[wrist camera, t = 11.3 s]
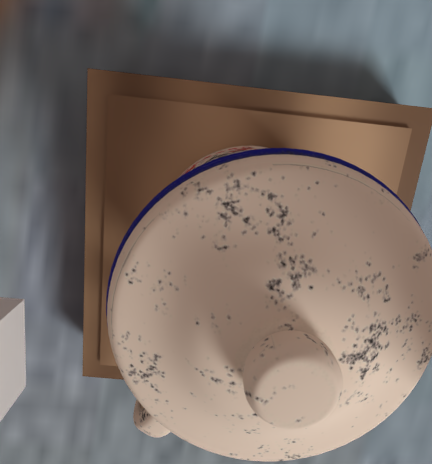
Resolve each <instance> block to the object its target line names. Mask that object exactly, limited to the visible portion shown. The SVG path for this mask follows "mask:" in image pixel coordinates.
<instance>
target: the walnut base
mask: <svg viewBox="0 0 432 464" xmlns="http://www.w3.org/2000/svg"><path fill="white" fill-rule="evenodd" d="M431 126H432V108H425V107H417V106H408V105H400V104H391V103H382V102H374V101H365V100H356V99H348V98H339V97H331V96H322V95H313V94H305V93H296V92H287V91H279V90H270V89H262V88H253V87H244V86H236V85H227V84H218V83H210V82H201V81H193V80H184V79H175V78H167V77H158V76H149V75H141V74H132V73H124V72H115V71H106V70H98V69H89V68H88V78H87V139H86V201H85V263H84V324H83V376H88V377H100V378H112V379H123V380H124V378H123V376H122V374H121V372H120V370H119V368H118V365H117V363H116V361H115V357H114V354H113V351H112V348H111V343H110V339H109V333H108V326H107V316H106V295H107V287H108V280H109V276H110V272H111V267H112V264H113V261H114V259H115V256H116V253H117V250H118V248H119V246H120V244H121V242H122V240H123V238H124V236H125V234H126V233H127V231H128V229H129V228H130V226H131V224H132V223H133V221H134V220H135V219H136V218H137V216H138V215H139V214H140V212H141V211H142V210H143V209H144V207H145V206H146V205H147V204H148V203H149V202H150V201H151V200H152V199H153V198H154V197H155V196H156V195H157V194H158V193H160V192H161V191H162V190H163V189H164V188H165V187H167V186H168V185H169V184H171V183H172V182H173V181H175V180H176V179H177V178H178V177H179V176H180V175H181V174H182V173H183V172H184V171H185V170H186V169H187V168H189V167H190V166H191V165H192V164H194V163H195V162H196V161H198V160H200V159H201V158H203V157H205V156H207V155H209V154H211V153H213V152H216V151H219V150H222V149H226V148H230V147H237V146H260V147H266V148H292V149H303V150H309V151H314V152H319V153H323V154H326V155H330V156H333V157H336V158H339V159H342V160H344V161H346V162H349V163H351V164H353V165H355V166H357V167H359V168H361V169H363V170H364V171H366V172H368V173H370V174H371V175H373V176H374V177H375V178H377V179H378V180H380V181H381V182H382V183H384V184H385V185H386V186H387V187H388V188H389V189H391V190H392V191H393V192H394V193H395V194H396V195H397V196H398V197H399V198H400V199H401V200H402V201H403V203H404V204H405V205H406V206H407V207H408V209H409V210H411V206H412V202H413V198H414V194H415V190H416V186H417V182H418V178H419V174H420V170H421V166H422V162H423V158H424V154H425V150H426V146H427V142H428V138H429V134H430V130H431Z"/></svg>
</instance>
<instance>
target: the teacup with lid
mask: <svg viewBox="0 0 432 464" xmlns="http://www.w3.org/2000/svg"><path fill="white" fill-rule="evenodd" d="M106 316H107V326H108V333H109V339H110V343H111V348H112V351H113V354H114V357H115V361H116V363H117V365H118V368H119V370H120V372H121V374H122V376H123V378H124V380H125V382H126V383H127V385H128V387H129V389H130V390H131V391H132V393H133V394H134V396H135V397H136V398H137V400H136V404H135V408H134V416H133V418H134V423H135V425H136V427H137V428H138V429H139V430H141V431H142V432H144V433H146V434H147V435H149V436H152V437H162V436H165V435H167V434H168V433H170V432H172V433H174V434H175V435H177V436H178V437H180V438H182V439H183V440H185V441H187V442H189V443H191V444H193V445H195V446H198V447H200V448H202V449H205V450H207V451H210V452H213V453H216V454H220V455H223V456H227V457H232V458H236V459H243V460H251V461H285V460H294V459H300V458H306V457H310V456H314V455H318V454H321V453H324V452H327V451H330V450H333V449H336V448H338V447H340V446H343V445H345V444H347V443H349V442H351V441H353V440H355V439H357V438H359V437H361V436H362V435H364V434H365V433H367V432H368V431H370V430H372V429H373V428H374V427H376V426H377V425H378V424H380V423H381V422H382V421H384V420H385V419H386V418H387V417H388V416H389V415H390V414H391V413H392V412H394V411H395V410H396V409H397V408H398V406H399V405H400V404H401V403H402V402H403V401H404V400H405V399H406V397H407V396H408V395H409V394H410V392H411V391H412V390H413V388H414V387H415V386H416V384H417V382H418V381H419V379H420V378H421V376H422V374H423V372H424V370H425V368H426V366H427V364H428V362H429V360H430V358H431V355H432V249H431V247H430V245H429V242H428V240H427V238H426V236H425V234H424V232H423V231H422V229H421V227H420V225H419V223H418V222H417V220H416V218H415V217H414V216H413V214H412V213H411V211H410V210H409V209H408V207H407V206H406V205H405V204H404V203H403V201H402V200H401V199H400V198H399V197H398V196H397V195H396V194H395V193H394V192H393V191H392V190H391V189H389V188H388V187H387V186H386V185H385V184H384V183H382V182H381V181H380V180H378V179H377V178H375V177H374V176H373V175H371V174H370V173H368V172H366V171H364V170H363V169H361V168H359V167H357V166H355V165H353V164H351V163H349V162H346V161H344V160H342V159H339V158H336V157H333V156H330V155H326V154H323V153H319V152H314V151H309V150H303V149H292V148H266V147H260V146H237V147H230V148H226V149H222V150H219V151H216V152H213V153H211V154H209V155H207V156H205V157H203V158H201V159H200V160H198V161H196V162H195V163H194V164H192V165H191V166H190V167H189V168H187V169H186V170H185V171H184V172H183V173H182V174H181V175H180V176H179V177H178V178H177V179H176V180H175V181H173V182H172V183H171V184H169V185H168V186H167V187H165V188H164V189H163V190H162V191H161V192H160V193H158V194H157V195H156V196H155V197H154V198H153V199H152V200H151V201H150V202H149V203H148V204H147V205H146V206H145V207H144V209H143V210H142V211H141V212H140V214H139V215H138V216H137V218H136V219H135V220H134V221H133V223H132V224H131V226H130V228H129V229H128V231H127V233H126V234H125V236H124V238H123V240H122V242H121V244H120V246H119V248H118V250H117V253H116V256H115V259H114V261H113V264H112V267H111V272H110V276H109V280H108V287H107V295H106Z"/></svg>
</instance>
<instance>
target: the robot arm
mask: <svg viewBox="0 0 432 464" xmlns="http://www.w3.org/2000/svg"><path fill="white" fill-rule="evenodd" d="M25 387H26V360H25V311H24V299H15V298H3V297H0V421H1V420H2V419H3V417H4V416H5V414H6V413H7V412H8V410H9V409H10V408H11V406H12V405H13V403H14V402H15V401H16V399H17V398H18V396H19V395H20V394H21V392H22V391H23V390H24V388H25Z"/></svg>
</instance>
